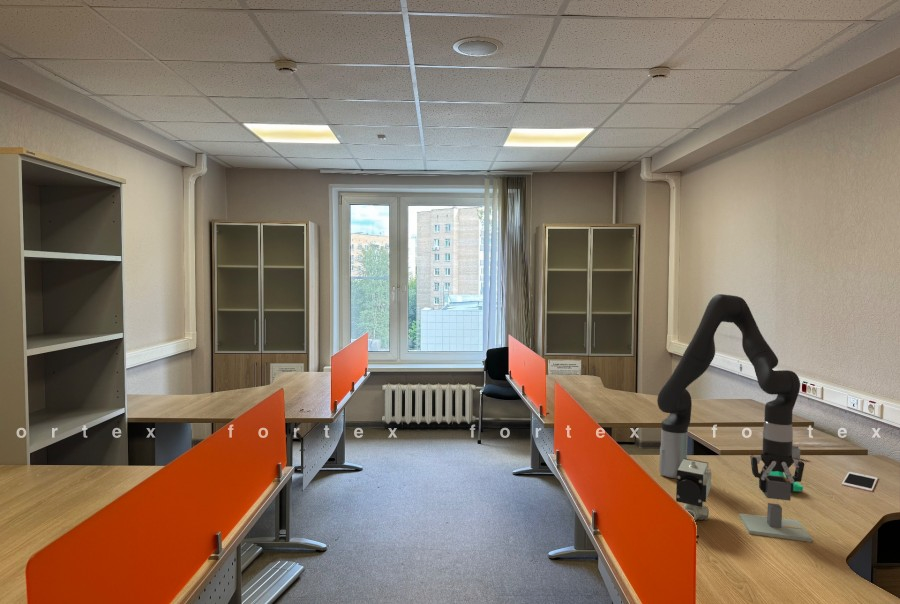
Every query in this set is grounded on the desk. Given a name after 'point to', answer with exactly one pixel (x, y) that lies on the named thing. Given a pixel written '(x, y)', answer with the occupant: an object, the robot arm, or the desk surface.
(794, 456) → the lighter
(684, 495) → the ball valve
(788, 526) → the grey base with post
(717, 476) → the desk surface
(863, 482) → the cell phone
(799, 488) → the camera mount
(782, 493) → the grey open box
